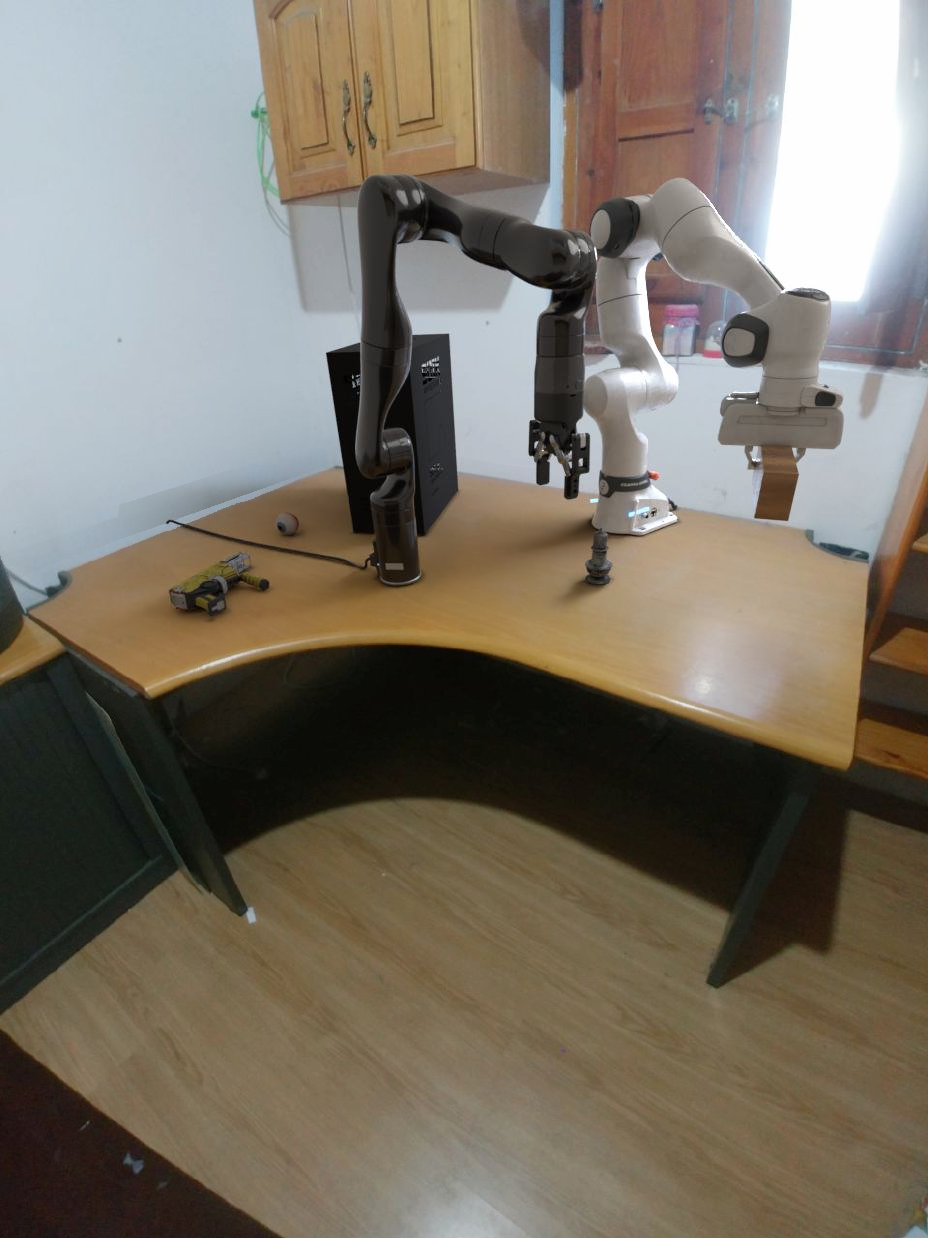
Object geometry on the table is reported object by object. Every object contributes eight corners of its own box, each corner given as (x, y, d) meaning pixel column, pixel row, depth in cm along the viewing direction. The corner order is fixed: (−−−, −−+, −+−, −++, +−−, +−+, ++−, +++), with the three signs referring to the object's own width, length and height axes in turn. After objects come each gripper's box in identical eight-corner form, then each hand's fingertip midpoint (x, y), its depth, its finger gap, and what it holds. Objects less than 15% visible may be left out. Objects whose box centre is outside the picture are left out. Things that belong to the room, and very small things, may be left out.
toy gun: (290, 560, 142) (237, 549, 146) (223, 603, 122) (163, 589, 126) (292, 578, 144) (239, 566, 148) (226, 623, 124) (167, 609, 128)
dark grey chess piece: (611, 585, 129) (615, 533, 123) (583, 584, 130) (586, 532, 124) (611, 573, 134) (615, 522, 128) (584, 572, 135) (587, 521, 129)
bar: (752, 478, 118) (760, 437, 115) (780, 479, 117) (789, 438, 113) (754, 518, 100) (763, 471, 96) (788, 521, 98) (799, 474, 94)
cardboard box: (424, 535, 159) (408, 350, 137) (353, 532, 164) (325, 352, 141) (458, 489, 191) (449, 333, 168) (397, 488, 195) (380, 335, 173)
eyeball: (273, 537, 164) (268, 516, 161) (287, 528, 169) (282, 508, 166) (291, 539, 161) (286, 518, 158) (305, 530, 166) (301, 510, 163)
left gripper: (514, 383, 95) (515, 483, 103) (564, 396, 84) (560, 508, 92) (555, 378, 98) (552, 476, 106) (608, 389, 86) (601, 499, 94)
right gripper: (722, 394, 107) (710, 471, 114) (854, 396, 100) (833, 478, 107) (723, 388, 112) (711, 462, 119) (849, 390, 105) (829, 468, 112)
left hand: (556, 491), depth 99 cm, fingers open, 8 cm apart
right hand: (770, 470), depth 113 cm, fingers closed on bar, 5 cm apart
